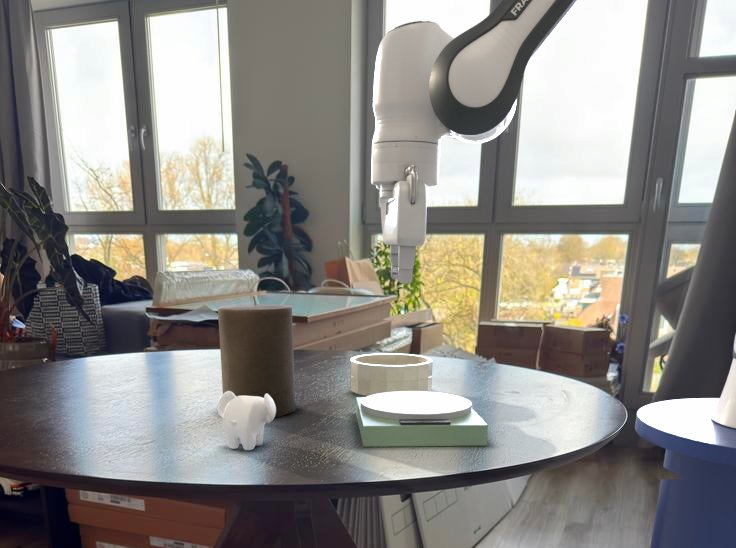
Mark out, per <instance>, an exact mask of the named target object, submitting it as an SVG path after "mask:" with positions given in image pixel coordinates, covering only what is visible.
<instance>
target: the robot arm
mask: <svg viewBox="0 0 736 548" xmlns="http://www.w3.org/2000/svg"><path fill="white" fill-rule="evenodd" d="M578 2H579V0H501V1H500V3H499V4H498V5H497V6H496V7H495V9H493V11H492V12H490V14H489V15H487V16H486V17H485V18H484V19H483V20H481V21H480V22H478V23H476V24H475V25H474V26H472V27H470V28H468V29H466V30H465V31H463V32H462V33H460V34H459V35H457V36H456V37H453V36H451V35H450V34H449V33H447V32H446V31H445V30H443V28H441V26H440V24H438V23H436V22H435V21H429V20H428V21H425V20H424V21H423V20H417V21H410V22H406V23H403V24H401V25H398V26H395V27H394V28H392V30H389V31H388V32H387V33H386V34H385V35H383V36H384V37H383V38H382V39H381V41H380V42H379V46H378V50H377V54H376V59H375V67H374V77H373V94H372V95H373V96H372V101H373V102H372V108H373V113H374V114H373V115H374V118H375V119H374V120H375V128H374V134H373V137H372V142H371V173H370V174H371V176H370V177H371V178H370V183H371V185H372V186H373V185H374V186H375V187H376V189H377V190H380V191H379V203H380V204H379V205H380V218H381V221H380V222H381V232H382V233H381V234H382V240H383V244H384V245H386V246H389V259H390V278H391V279H392V280H395V281H398V282H399V283H400V284H411V283H412V282H413V273H414V267H415V260H416V257H417V255H416V253H417V247H422V246H424V245H425V241H426V236H427V206H428V205H427V201H428V199H429V187H436V186H438V185H439V179H440V178H439V177H440V176H439V175H440V159H441V158H440V157H441V143H442V142H441V141H442V138H445V137H446V138H449V139H454V140H458V141H462V142H464V143H468V144H484V143H487V142H489V141H492V140H494V139H495V138H497V137H498V136H500V135H501V134H502V133H503V132H504V131H505V130H506V129H507V128H508V127H509V125H510V124H511V122H512V120H513V117H514V116H515V115H514V114H515V112H516V109H517V108H516V107H517V102H518V96H519V93H520V90H521V86H522V84H523V79H524V76H525V73H526V72H527V69H528V66H529V65H530V63H531V61H532V59H533V58H534V56H535V55H536V53H537V52H538V51H539V50H540V49H541V47H542V46H543V45H544V44H545V42H546V41H547V40H548V39H549V37H550V36H551V35H552V33H554V32H555V30H556V29H557V28H558V26H559V25H560V24H561V23H562V21H563V20H564V19H565V17H566V16H567V15H568V14H569V12H570V11H572V9H573V8H574V6H575V5H576V4H577V3H578ZM719 398H720V399H719V401H718V403H717V405H716V407H715V409H714V411H713V413H712V415H711V419H712V420H713V421H715V422H717V423H719V424H722V425H725V426H728V427H731V428H735V429H736V333H735V335H734V340H733V347H732V361H731V365H730V369H729V372H728V375H727V378H726V381H725V384H724V386H723V389H722V391H721V395H720V397H719Z"/></svg>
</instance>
